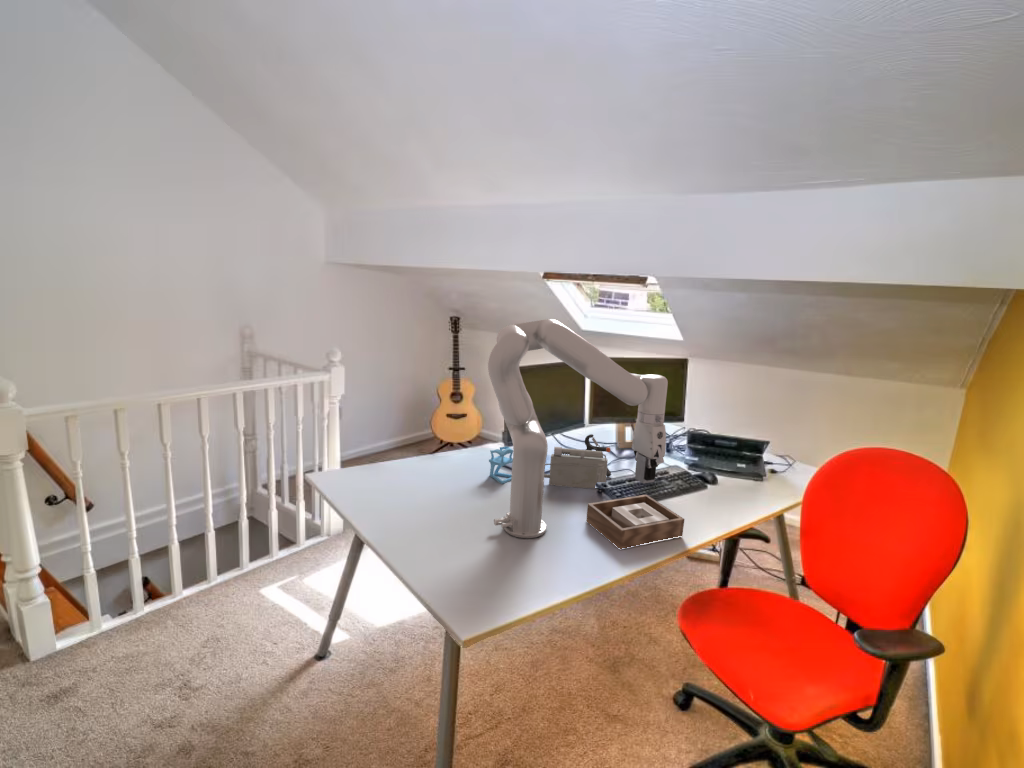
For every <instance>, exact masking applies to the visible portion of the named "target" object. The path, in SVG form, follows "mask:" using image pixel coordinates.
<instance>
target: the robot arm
mask: <svg viewBox="0 0 1024 768" xmlns="http://www.w3.org/2000/svg"><path fill="white" fill-rule="evenodd" d="M541 349H544V350H545V351H547V352H548V353H550V354H551V355H553V356H554V357H555V358H557V359H559V361H561V362H563V363H565V364H566V365H568V367H570V368H572V369H573V370H575V372H578V373H579V374H580V375H581V376H583V377H584V378H586V379H588V380H589V381H591V382H593V383H595V384H597V385H598V386H600V387H601V388H603V389H604V390H605V391H607V392H608V393H610V394H611V395H612V396H614V397H616V398H617V399H618V400H620V401H621V402H623V403H624V404H626V405H628V406H631V407H632V406H633V407H635V406H637V407H638V408H637V419H636V422H635V426H634V431H633V437H632V444H631V449H632V452H633V454H634V456H635V457H634V460H635V461H636V462H635V464H636V463H637V453H641V454H642V455H644V456H646V457H648V458H647V459H648V467H646V474H645V480H646V481H648V480H654V479H656V474H657V473H656V472H657V471H656V470H657V468H659V467H658V466H659V465H661V464H664V463H665V460H664V458H665V455H666V448H667V447H666V445H667V431H666V425H665V424H664V423H665V413H666V404H667V403H666V402H667V394H668V387H669V386H668V384H669V383H668V382H669V381H668V379H667V378H666V376H663V375H661V374H652V373H651V374H637V373H631V372H629V371H628V370H626V369H624V367H622V366H621V365H619V364H618V363H617V362H615V361H614V360H613V359H611V358H610V357H609V356H608V355H607V354H606V353H604V351H602V350H600V349H599V348H598V347H596V346H595V345H594V344H593V343H590V342H589V341H588V340H586V339H585V338H583V337H582V336H580V334H578V333H576V332H575V331H573V330H572V329H570V328H569V327H568V326H566V325H565V324H563V323H562V322H560V321H559V320H556V319H555V318H545V319H539V320H533V321H528V322H527V321H526V322H521V323H514V324H513V323H512V324H508V325H506V326H504V327H502V328H501V329H500V330H499V331H498V333H497V335H496V344H495V345H494V346H493V348H492V349H491V352H490V353H489V354H490V355H489V357H488V360H487V361H488V362H487V372H488V376H489V380H490V382H491V385H492V387H493V391H494V394H495V397H496V399H497V402H498V406H499V410H500V413H501V416H502V418H503V419H504V422H505V425H506V428H507V430H508V433H509V436H510V437H511V442H512V447H513V449H512V450H513V453H512V459H513V462H512V463H511V475H512V476H511V481H510V484H511V485H510V499H509V500H510V502H509V512H506V516H505V515H504V516H503V517H499V518H494V519H493V524H494V526H496V527H497V526H501V528H502V529H503V530H505V532H506V533H507V534H508V535H510V536H513V537H516V538H520V539H535V538H539V537H541V536H542V535H544V534H545V533H546V532H547V524H546V523H545V521H544V520H543V519H542V518H543V516H542V515H543V505H544V504H543V502H544V489H545V488H544V487H545V486H544V485H545V478H544V474H546V473H545V471H546V465H545V464H547V463H546V462H547V456H548V439H547V437H546V434H545V432H544V431H543V428H542V426H541V424H540V421H539V419H538V416H537V414H536V410H535V408H534V403H533V401H532V398H531V396H530V394H529V392H528V390H527V389H526V385H525V383H524V380H523V376H522V374H521V370H520V364H521V361H522V359H523V358H524V357H525V356H526V354H527V353H528V352H530V351H536V350H541ZM652 459H654V461H653V462H652ZM634 471H635V472H634V474H635V473H636V469H635V470H634ZM654 481H655V480H654Z"/></svg>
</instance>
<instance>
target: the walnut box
mask: <svg viewBox="0 0 1024 768" xmlns="http://www.w3.org/2000/svg"><path fill="white" fill-rule="evenodd" d="M586 508H587V510H586V521H587V522H588V523H589V524H588V525H590V524H591V525H592V526H593V527H594V528H595V530H596V529H597V530H598V531H599V532H600V533H602V534H603V535H604V536H605V537H606V538H607V539H609V540H610V541H611V542H612V543H614V544H615V545H616V546H617V547H618V548H620V549H622V548H627V547H631V546H636V545H640V544H644V543H649V542H653V541H658V540H663V539H668V538H673V537H678V536H682V537H683V534H684V525H685V518H683V517H682V516H680V515H679V514H678V513H676V512H674V511H673V510H671V509H669V508H668V507H667V506H665V505H663V504H662V503H660V502H659V501H657V500H656V499H654V498H653V497H652V496H649V495H648V494H642V495H636V496H635V495H634V496H627V497H622V498H615V499H610V500H604V501H603V500H602V501H596V502H590V503H587V507H586ZM587 522H586V523H587ZM591 525H590V526H591ZM592 526H591V527H592ZM593 527H592V528H593ZM594 528H593V529H594ZM597 530H596V531H597ZM598 531H597V532H598ZM599 532H598V533H599ZM600 533H599V534H600ZM603 535H602V536H603ZM604 536H603V537H604ZM605 537H604V538H605ZM606 538H605V539H606ZM609 540H608V541H609ZM610 541H609V542H610ZM611 542H610V543H611ZM612 543H611V544H612ZM616 546H615V547H616ZM617 547H616V548H617ZM618 548H617V549H618Z"/></svg>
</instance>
